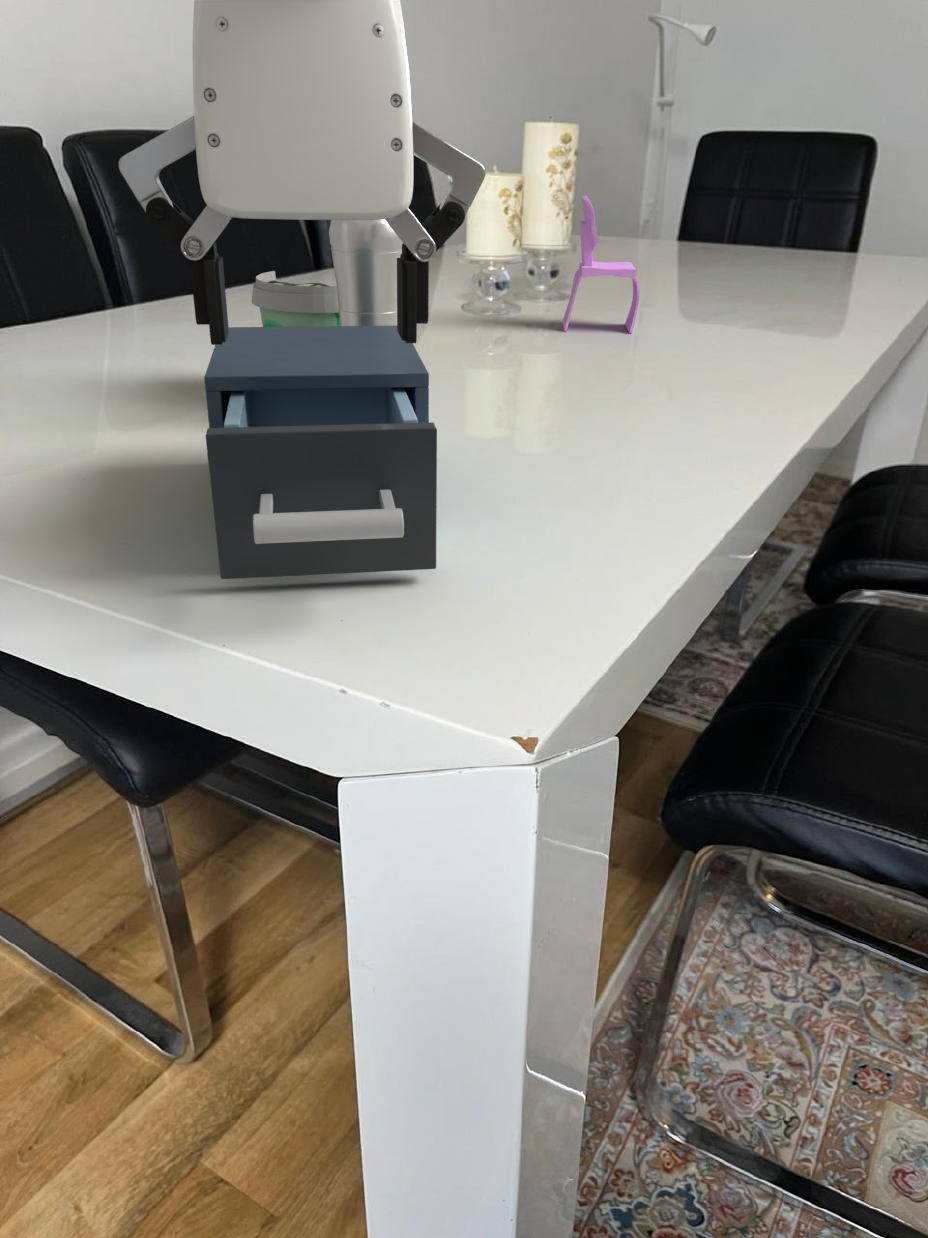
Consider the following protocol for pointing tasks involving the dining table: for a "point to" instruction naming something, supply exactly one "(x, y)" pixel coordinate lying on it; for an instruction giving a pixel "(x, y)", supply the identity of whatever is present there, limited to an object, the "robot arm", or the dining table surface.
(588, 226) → the toy chair
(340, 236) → the silver tall bottle
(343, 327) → the drawer cabinet
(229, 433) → the dark grey drawer
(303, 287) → the food container
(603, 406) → the dining table surface
